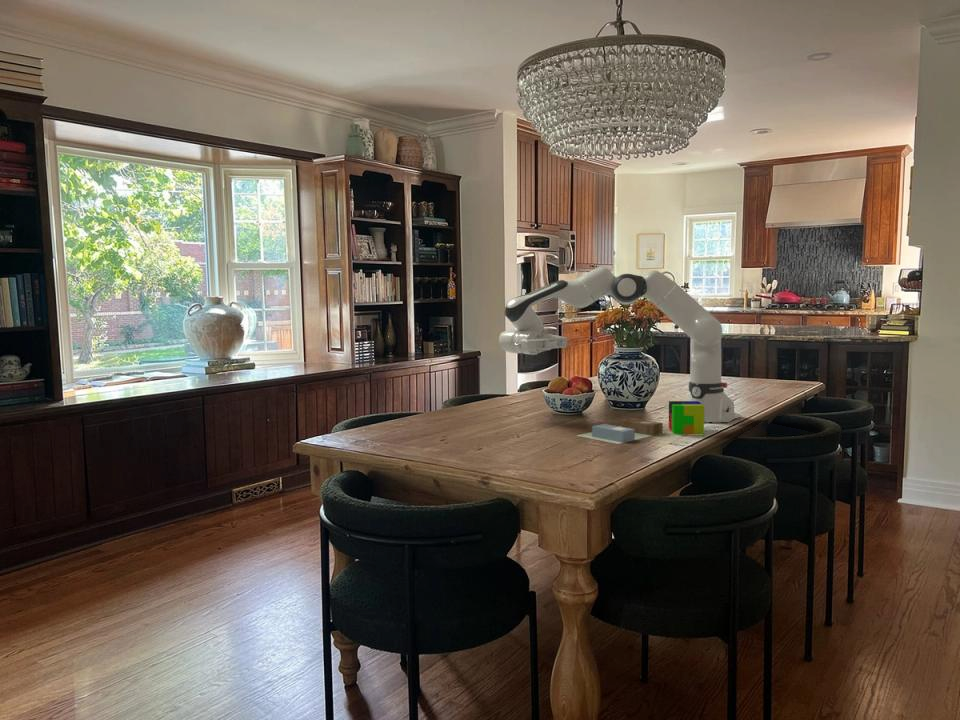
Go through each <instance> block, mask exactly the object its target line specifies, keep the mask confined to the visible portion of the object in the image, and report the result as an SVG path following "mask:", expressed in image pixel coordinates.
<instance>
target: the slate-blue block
mask: <svg viewBox="0 0 960 720" xmlns="http://www.w3.org/2000/svg"><path fill="white" fill-rule="evenodd" d="M619 426H620V425H619ZM619 426H618V425H612V424H607V423H603V424H602V423H601V424H597V425H592V426H591V432H592V437H597V438H602V439H607V440H612V441H617V442H624V443H628V442H631V440H633V441H636V440H635V429H631V428H625V427H619ZM627 441H628V442H627Z"/></svg>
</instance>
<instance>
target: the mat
mask: <svg viewBox="0 0 960 720" xmlns="http://www.w3.org/2000/svg"><path fill="white" fill-rule="evenodd" d="M619 427H621V425H619ZM661 434H667V431H663V433H661ZM661 434H660V435H661ZM657 435H658V436H659V434H657ZM657 435H656V436H657ZM653 436H655V435H653ZM653 436H652V437H653ZM576 437H581V438H586V439H592V440H596V441H602V442H607V443H611V444H612V443H613V444H617V445H619V444H624V443H625V442H617V441H612V440H607V439H602V438H597V437H592V431H591V432H587V433H586V432H585V433H582V434H576ZM649 437H651V436H650V435H645V434H639V433H635V440H631V441H636V440H637V441H638V440H639V439H640V440H641V439H645V438H649ZM631 441H630V442H631ZM628 442H629V441H627V442H626V443H628Z"/></svg>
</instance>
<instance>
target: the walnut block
mask: <svg viewBox="0 0 960 720" xmlns="http://www.w3.org/2000/svg"><path fill="white" fill-rule="evenodd" d="M620 426H621V427H625V428H631V429H635V433H639V434H645V435H650V436H649V437H653V435H654V436H657V434H658V435H661V433H662V434H664V433H663V432H664V431H663V426H664V424H663V422H659V421H658V422H657V421H651V420H646V419H642V418H641V419H639V418H634V417H629V418H626V419H621V420H620Z"/></svg>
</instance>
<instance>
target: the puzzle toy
mask: <svg viewBox="0 0 960 720" xmlns="http://www.w3.org/2000/svg"><path fill="white" fill-rule="evenodd" d="M668 430H670V431H671V433H672V434H673V435H679V436H683V435H682V434H704V435H705V422H704V405H703V404H701V403H700V402H699V401H686V400H673V401H671V400H668ZM680 434H681V435H680Z"/></svg>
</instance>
